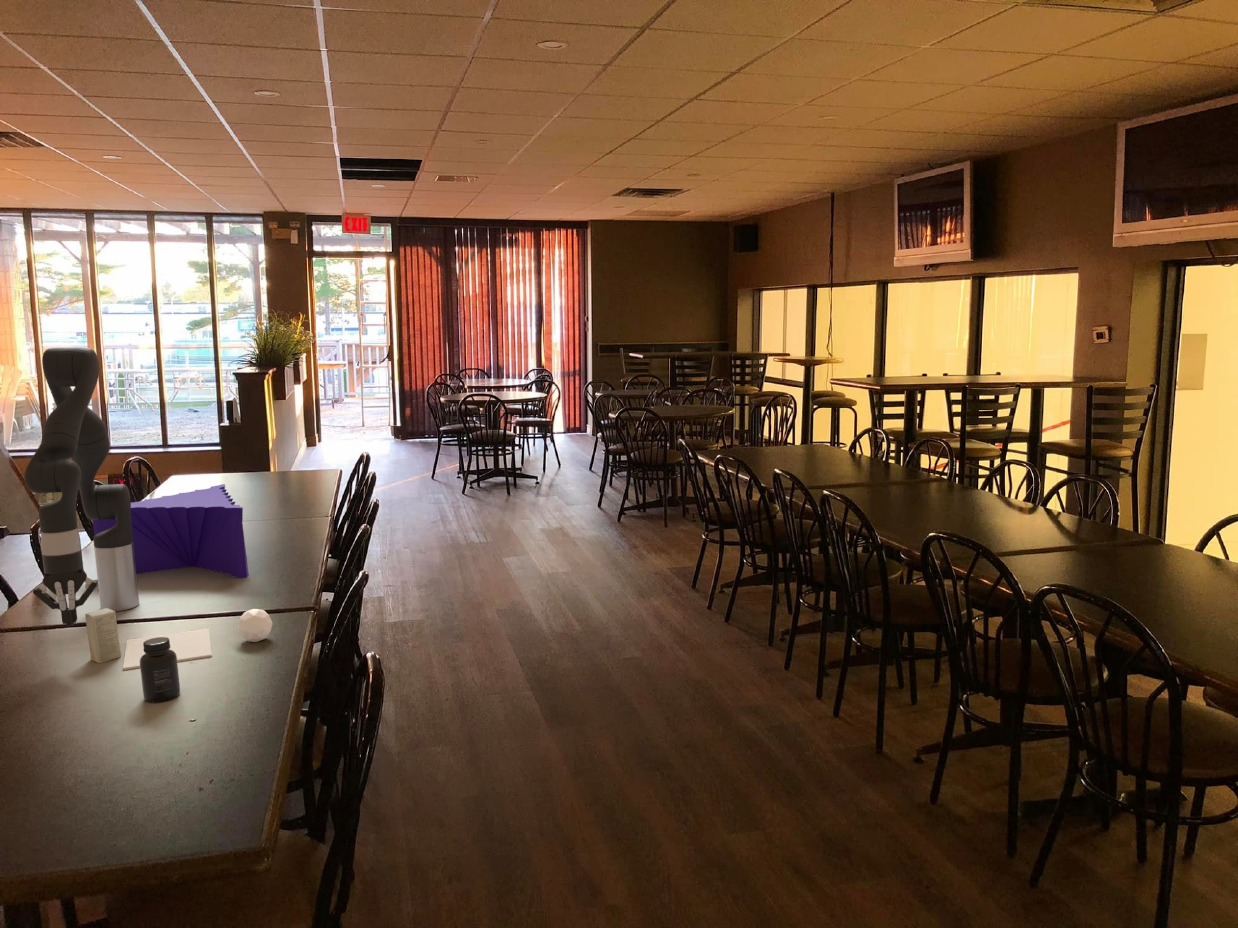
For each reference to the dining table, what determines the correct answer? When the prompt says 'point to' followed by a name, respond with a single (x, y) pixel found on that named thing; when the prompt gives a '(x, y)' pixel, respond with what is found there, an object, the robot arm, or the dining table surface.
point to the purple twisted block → (187, 532)
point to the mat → (172, 647)
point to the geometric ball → (254, 625)
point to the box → (103, 635)
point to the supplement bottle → (159, 671)
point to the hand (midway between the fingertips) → (70, 624)
